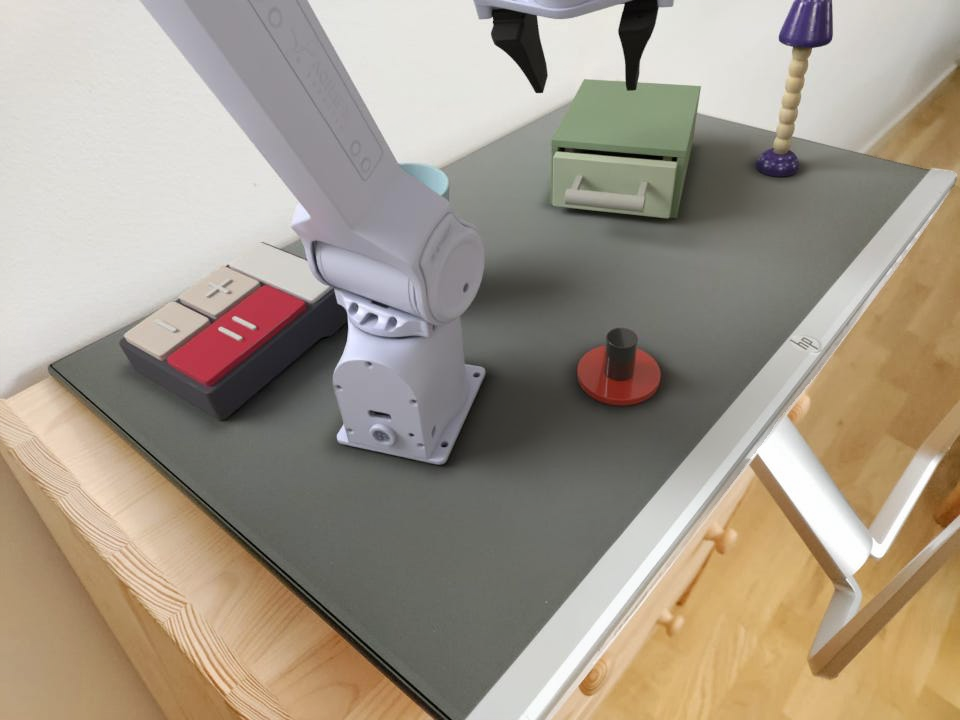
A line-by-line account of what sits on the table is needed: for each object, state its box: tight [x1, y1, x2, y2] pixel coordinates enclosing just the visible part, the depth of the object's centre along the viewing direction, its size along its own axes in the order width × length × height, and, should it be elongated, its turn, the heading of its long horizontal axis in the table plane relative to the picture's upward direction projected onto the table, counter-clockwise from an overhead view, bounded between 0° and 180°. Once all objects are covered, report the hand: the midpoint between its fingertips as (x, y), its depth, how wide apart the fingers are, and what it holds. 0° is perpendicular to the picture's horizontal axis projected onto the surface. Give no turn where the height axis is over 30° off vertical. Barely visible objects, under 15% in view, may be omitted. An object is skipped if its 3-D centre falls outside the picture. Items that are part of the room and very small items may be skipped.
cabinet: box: [550, 78, 702, 219], centre depth 73 cm, size 15×12×7 cm
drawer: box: [552, 148, 677, 219], centre depth 70 cm, size 19×11×5 cm, turn 162°
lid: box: [576, 327, 662, 407], centre depth 51 cm, size 6×6×4 cm
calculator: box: [118, 241, 348, 421], centre depth 56 cm, size 11×4×15 cm
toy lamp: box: [755, 0, 834, 177], centre depth 69 cm, size 5×5×17 cm
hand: (586, 83), depth 58 cm, fingers open, 7 cm apart
